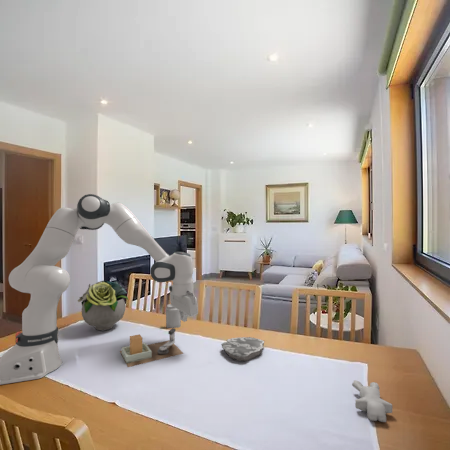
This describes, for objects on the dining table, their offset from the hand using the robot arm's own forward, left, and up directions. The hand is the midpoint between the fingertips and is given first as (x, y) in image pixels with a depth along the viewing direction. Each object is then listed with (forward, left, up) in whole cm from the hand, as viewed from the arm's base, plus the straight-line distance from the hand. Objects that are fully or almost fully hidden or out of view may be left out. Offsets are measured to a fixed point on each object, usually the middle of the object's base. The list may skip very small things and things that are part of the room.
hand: (183, 320), depth 128 cm
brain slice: (+19, -17, -12) cm, 28 cm away
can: (+4, +25, -12) cm, 28 cm away
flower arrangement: (-27, +44, -12) cm, 53 cm away
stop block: (-21, -1, -10) cm, 23 cm away
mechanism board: (-15, -1, -12) cm, 19 cm away
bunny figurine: (+31, -67, -12) cm, 75 cm away
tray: (-21, -1, -10) cm, 23 cm away
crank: (-8, -1, -9) cm, 12 cm away
